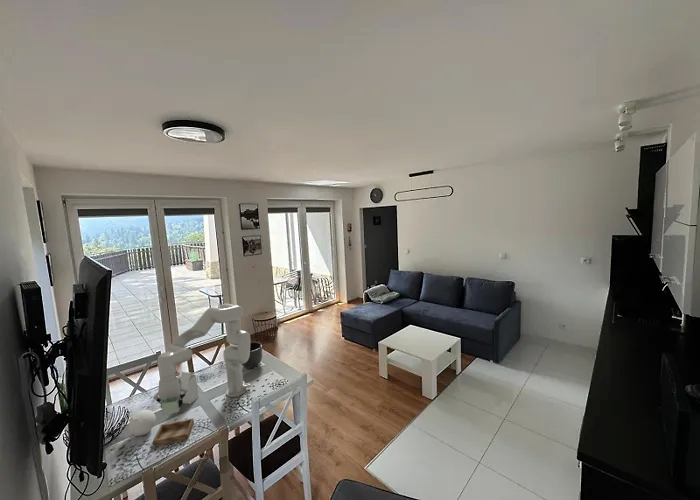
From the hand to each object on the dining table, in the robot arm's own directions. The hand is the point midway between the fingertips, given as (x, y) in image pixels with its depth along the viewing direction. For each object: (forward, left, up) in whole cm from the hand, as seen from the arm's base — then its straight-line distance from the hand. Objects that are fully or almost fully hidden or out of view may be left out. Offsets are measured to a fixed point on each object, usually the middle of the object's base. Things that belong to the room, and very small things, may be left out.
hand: (172, 407), depth 152 cm
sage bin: (0, 0, -1) cm, 1 cm away
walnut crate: (+1, 0, -16) cm, 16 cm away
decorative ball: (+18, -7, -16) cm, 25 cm away
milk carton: (+1, -30, -16) cm, 34 cm away
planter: (-35, -60, -16) cm, 72 cm away
